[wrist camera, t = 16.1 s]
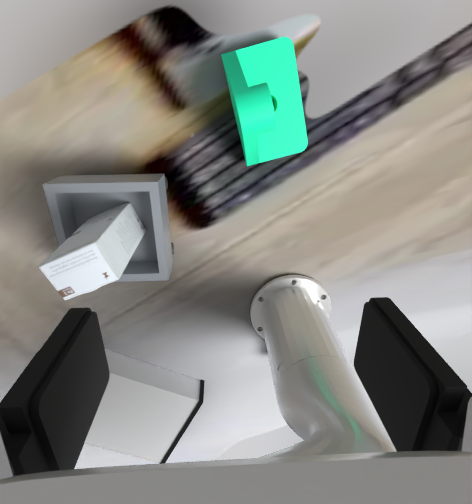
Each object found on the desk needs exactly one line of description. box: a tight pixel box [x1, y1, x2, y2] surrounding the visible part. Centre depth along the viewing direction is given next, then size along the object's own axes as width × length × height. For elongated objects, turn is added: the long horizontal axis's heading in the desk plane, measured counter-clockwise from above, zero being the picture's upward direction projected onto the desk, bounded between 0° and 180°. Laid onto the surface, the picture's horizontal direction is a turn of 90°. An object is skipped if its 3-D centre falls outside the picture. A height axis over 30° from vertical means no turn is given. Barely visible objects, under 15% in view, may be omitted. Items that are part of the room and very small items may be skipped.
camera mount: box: [221, 37, 308, 166], centre depth 34 cm, size 12×8×10 cm, turn 14°
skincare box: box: [39, 203, 146, 300], centre depth 35 cm, size 6×4×12 cm
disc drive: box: [84, 349, 204, 464], centre depth 55 cm, size 18×22×5 cm
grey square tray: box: [43, 174, 174, 282], centre depth 40 cm, size 12×12×8 cm
